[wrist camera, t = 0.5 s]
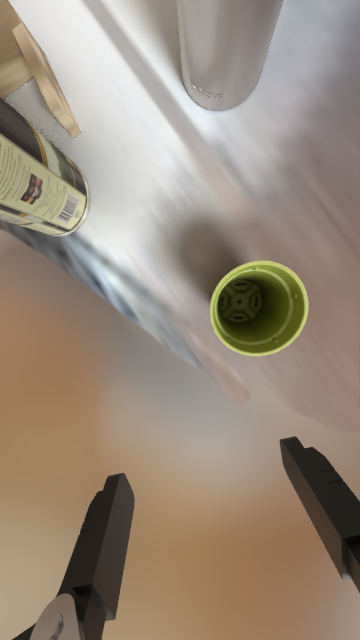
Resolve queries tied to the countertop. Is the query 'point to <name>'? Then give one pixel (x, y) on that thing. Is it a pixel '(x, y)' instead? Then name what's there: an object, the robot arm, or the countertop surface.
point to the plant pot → (259, 308)
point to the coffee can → (38, 179)
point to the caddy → (29, 66)
